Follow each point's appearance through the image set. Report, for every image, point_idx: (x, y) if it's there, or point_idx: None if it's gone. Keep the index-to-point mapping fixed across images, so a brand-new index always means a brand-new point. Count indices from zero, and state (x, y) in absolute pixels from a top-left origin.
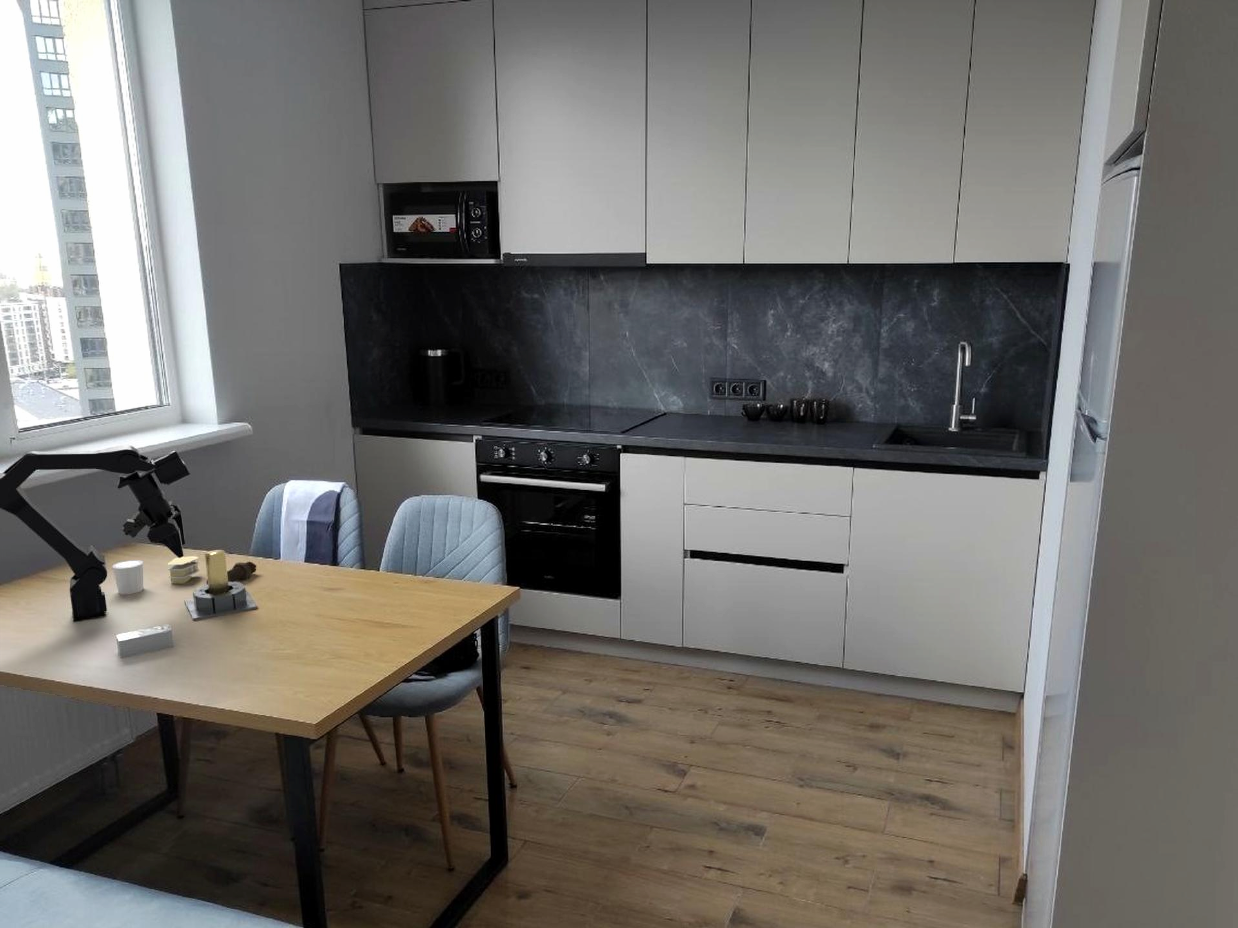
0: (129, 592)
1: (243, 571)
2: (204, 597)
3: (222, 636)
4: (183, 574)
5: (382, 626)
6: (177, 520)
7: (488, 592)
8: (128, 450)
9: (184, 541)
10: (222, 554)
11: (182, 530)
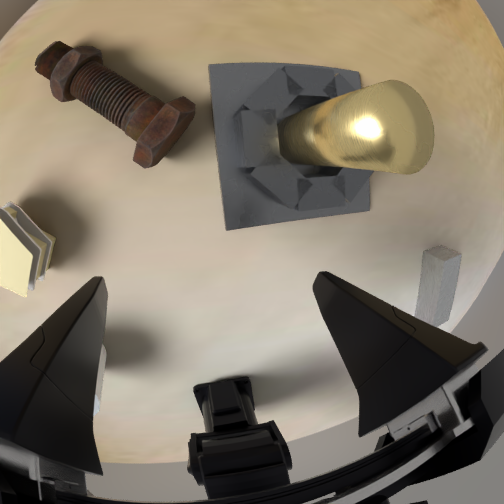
0: (105, 353)
1: (97, 62)
2: (364, 183)
3: (444, 171)
4: (42, 243)
5: (455, 6)
6: (50, 420)
7: None
8: None
9: (101, 285)
10: (423, 104)
11: (73, 332)
